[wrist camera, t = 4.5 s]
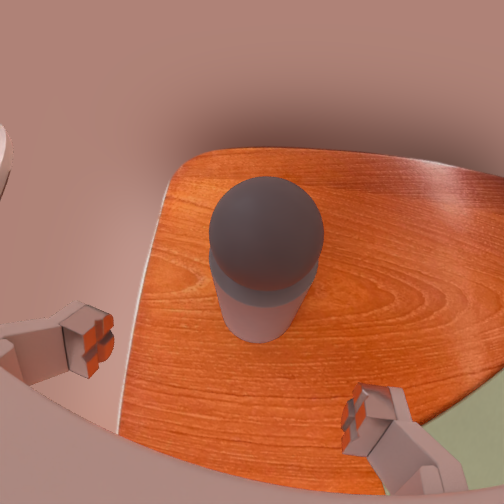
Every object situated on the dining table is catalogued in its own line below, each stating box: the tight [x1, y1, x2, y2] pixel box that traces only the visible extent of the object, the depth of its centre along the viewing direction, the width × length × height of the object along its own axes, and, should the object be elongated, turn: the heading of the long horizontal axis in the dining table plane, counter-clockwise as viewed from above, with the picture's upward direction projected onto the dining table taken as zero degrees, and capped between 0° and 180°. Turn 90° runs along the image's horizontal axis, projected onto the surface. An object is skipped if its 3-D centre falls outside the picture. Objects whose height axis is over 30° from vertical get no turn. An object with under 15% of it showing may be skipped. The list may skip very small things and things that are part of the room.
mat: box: [382, 368, 504, 495], centre depth 14 cm, size 20×16×1 cm
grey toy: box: [209, 176, 324, 343], centre depth 16 cm, size 5×5×12 cm
